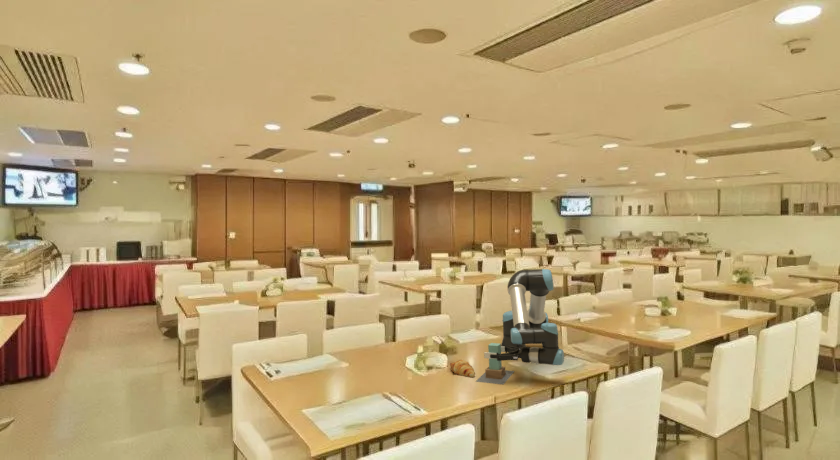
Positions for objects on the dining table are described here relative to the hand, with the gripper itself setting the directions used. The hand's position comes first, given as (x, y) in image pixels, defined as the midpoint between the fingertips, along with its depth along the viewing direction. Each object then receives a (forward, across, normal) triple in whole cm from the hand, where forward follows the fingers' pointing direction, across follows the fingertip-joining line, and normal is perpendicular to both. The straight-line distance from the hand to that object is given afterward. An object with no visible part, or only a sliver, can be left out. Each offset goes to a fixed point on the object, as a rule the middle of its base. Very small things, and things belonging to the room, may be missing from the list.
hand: (488, 351), depth 234 cm
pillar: (-3, 0, -8) cm, 9 cm away
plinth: (-3, 0, -12) cm, 13 cm away
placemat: (-3, 0, -12) cm, 13 cm away
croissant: (+15, 0, -13) cm, 20 cm away
